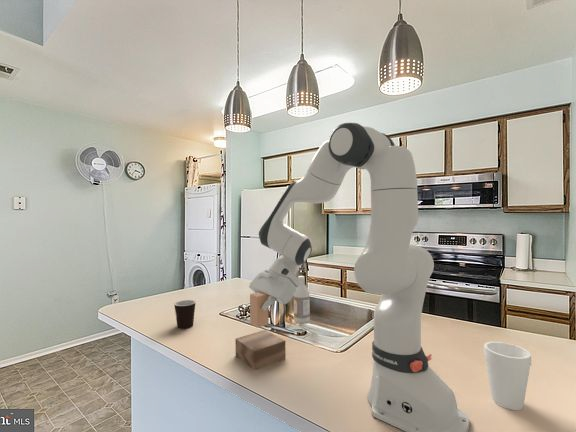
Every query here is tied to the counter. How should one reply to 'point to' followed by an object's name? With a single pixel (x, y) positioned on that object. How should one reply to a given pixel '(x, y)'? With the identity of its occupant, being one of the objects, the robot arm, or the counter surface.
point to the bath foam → (301, 303)
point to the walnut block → (260, 349)
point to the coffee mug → (185, 313)
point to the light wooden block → (258, 309)
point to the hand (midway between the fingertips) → (257, 307)
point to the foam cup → (507, 373)
